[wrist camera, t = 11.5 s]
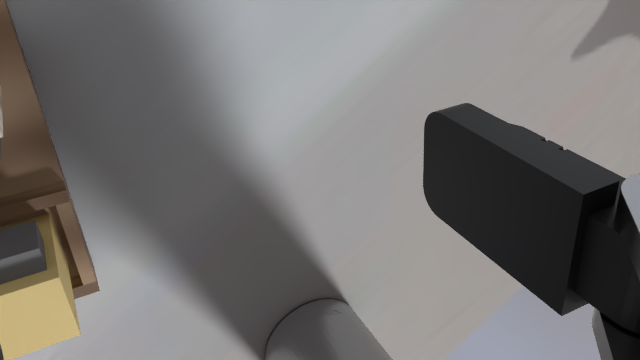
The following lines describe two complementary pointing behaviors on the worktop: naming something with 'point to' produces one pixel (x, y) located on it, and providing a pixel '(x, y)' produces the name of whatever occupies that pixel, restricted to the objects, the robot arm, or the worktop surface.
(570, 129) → the worktop surface
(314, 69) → the worktop surface
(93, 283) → the rail
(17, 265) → the yellow and grey box
